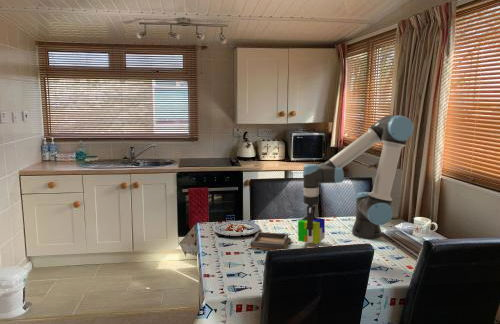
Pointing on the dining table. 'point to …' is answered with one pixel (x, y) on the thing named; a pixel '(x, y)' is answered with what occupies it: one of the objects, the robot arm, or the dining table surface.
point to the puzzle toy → (317, 230)
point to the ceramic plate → (239, 229)
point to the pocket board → (270, 241)
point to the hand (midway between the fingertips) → (311, 237)
